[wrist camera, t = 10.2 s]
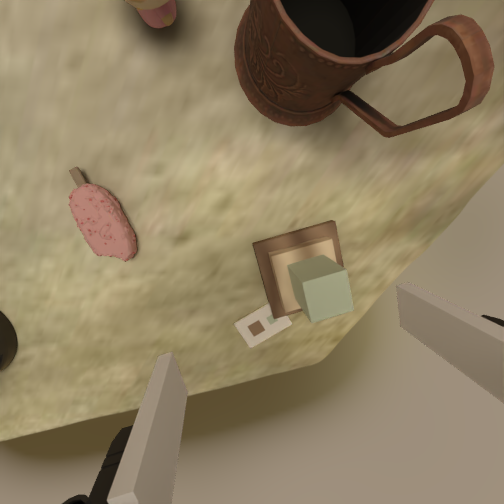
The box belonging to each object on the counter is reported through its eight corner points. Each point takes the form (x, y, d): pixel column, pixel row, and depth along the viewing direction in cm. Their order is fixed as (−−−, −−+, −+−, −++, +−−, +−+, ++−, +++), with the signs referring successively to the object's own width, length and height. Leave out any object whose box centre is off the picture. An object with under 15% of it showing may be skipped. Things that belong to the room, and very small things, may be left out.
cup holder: (333, -45, 35) (589, -594, 10) (384, 130, 41) (618, 42, 17) (211, 14, 35) (181, -392, 10) (280, 180, 41) (362, 166, 17)
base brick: (272, 315, 46) (276, 326, 42) (252, 242, 43) (255, 248, 39) (345, 293, 47) (356, 302, 43) (331, 220, 43) (342, 223, 39)
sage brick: (295, 298, 41) (311, 323, 34) (286, 264, 40) (302, 282, 32) (329, 288, 42) (354, 310, 34) (323, 254, 40) (346, 269, 32)
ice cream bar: (87, 157, 34) (139, 256, 37) (101, 162, 38) (147, 251, 41) (42, 175, 33) (99, 273, 37) (61, 177, 38) (111, 266, 41)
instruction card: (250, 347, 47) (250, 348, 47) (233, 323, 46) (233, 324, 45) (292, 323, 47) (292, 324, 47) (276, 298, 45) (277, 298, 45)
